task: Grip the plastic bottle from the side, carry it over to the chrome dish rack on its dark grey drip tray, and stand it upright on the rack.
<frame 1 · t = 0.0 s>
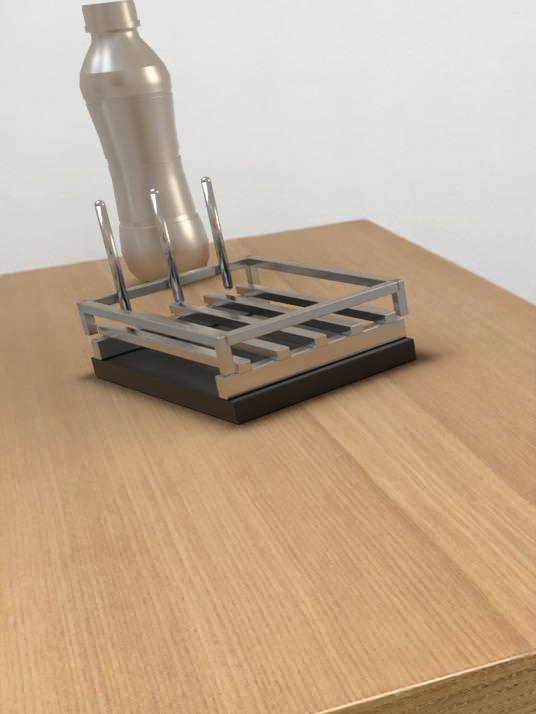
dish rack: (252, 367, 72), on the table
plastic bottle: (173, 281, 96), on the table
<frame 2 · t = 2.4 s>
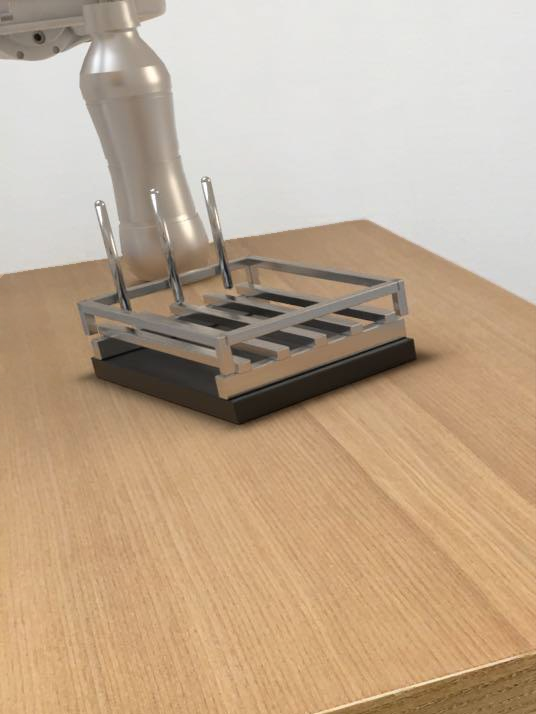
hand: (63, 3, 96), 20 cm above the table, tool horizontal, fingers open, 8 cm apart
nothing on the table moved.
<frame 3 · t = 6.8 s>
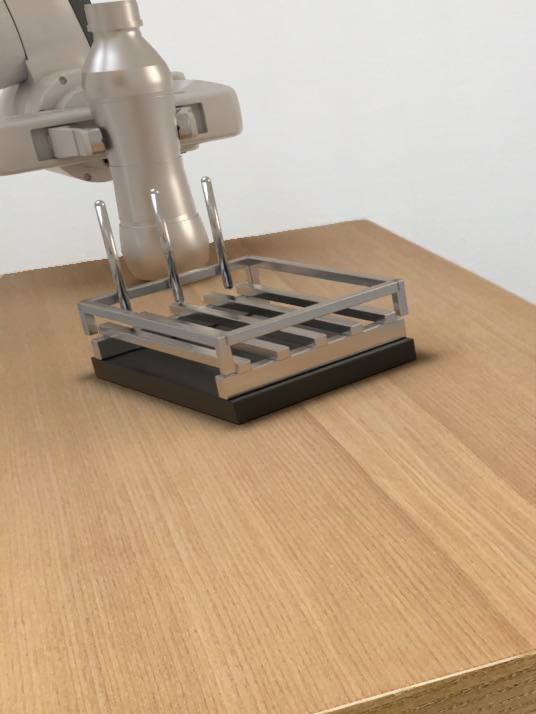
hand: (142, 134, 91), 11 cm above the table, tool horizontal, fingers closed on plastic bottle, 6 cm apart
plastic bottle: (173, 281, 96), on the table, touching gripper
when the fingers open (14 cm above the table, at t = 15.6 s): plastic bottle stays where it is, resting on dish rack.
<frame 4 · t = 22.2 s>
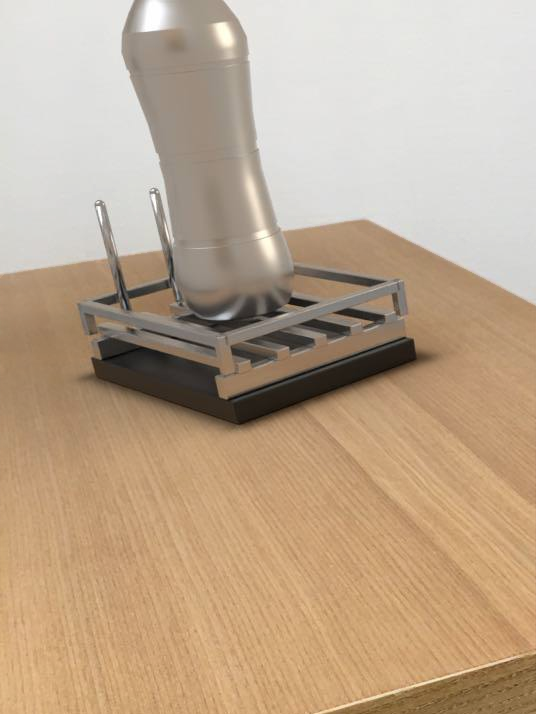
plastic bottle: (244, 320, 71), point 3 cm above the table, touching dish rack
at the end: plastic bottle inside the target area on the dish rack (0.2 cm from its centre), point 2.8 cm above the dish rack's base; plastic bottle tilted 0°; the gripper is holding nothing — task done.
